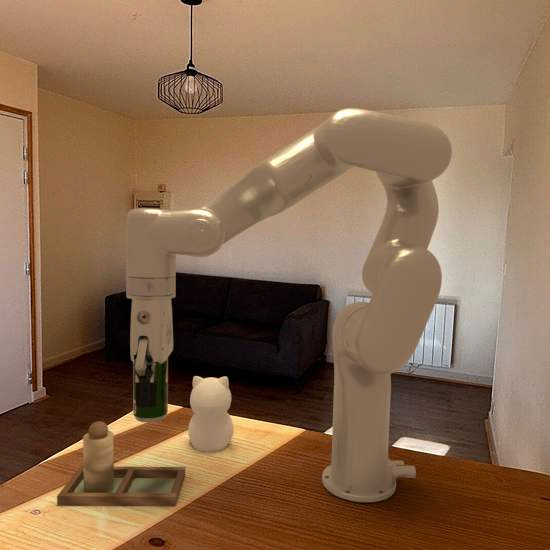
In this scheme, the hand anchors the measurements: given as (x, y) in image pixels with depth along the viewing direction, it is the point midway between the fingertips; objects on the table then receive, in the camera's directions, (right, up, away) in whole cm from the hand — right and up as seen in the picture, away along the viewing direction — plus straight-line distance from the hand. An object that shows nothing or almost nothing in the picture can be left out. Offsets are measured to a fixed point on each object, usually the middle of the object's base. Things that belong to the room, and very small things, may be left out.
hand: (150, 398), depth 79 cm
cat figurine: (+7, -15, +21) cm, 26 cm away
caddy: (-5, -16, +1) cm, 17 cm away
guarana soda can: (0, -3, 0) cm, 3 cm away
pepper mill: (-9, -15, +1) cm, 17 cm away
